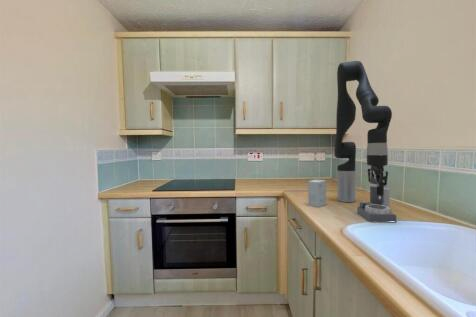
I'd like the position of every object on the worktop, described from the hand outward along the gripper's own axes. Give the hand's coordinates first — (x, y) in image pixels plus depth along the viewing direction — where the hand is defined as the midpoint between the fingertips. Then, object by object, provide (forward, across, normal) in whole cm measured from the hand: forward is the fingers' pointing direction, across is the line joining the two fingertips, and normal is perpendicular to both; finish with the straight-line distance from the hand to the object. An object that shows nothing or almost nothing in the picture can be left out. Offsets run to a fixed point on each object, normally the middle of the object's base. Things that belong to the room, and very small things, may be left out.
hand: (377, 194), depth 100 cm
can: (+11, -16, +8) cm, 21 cm away
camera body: (+10, -2, 0) cm, 11 cm away
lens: (+4, 0, 0) cm, 4 cm away
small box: (+11, -24, -20) cm, 33 cm away
